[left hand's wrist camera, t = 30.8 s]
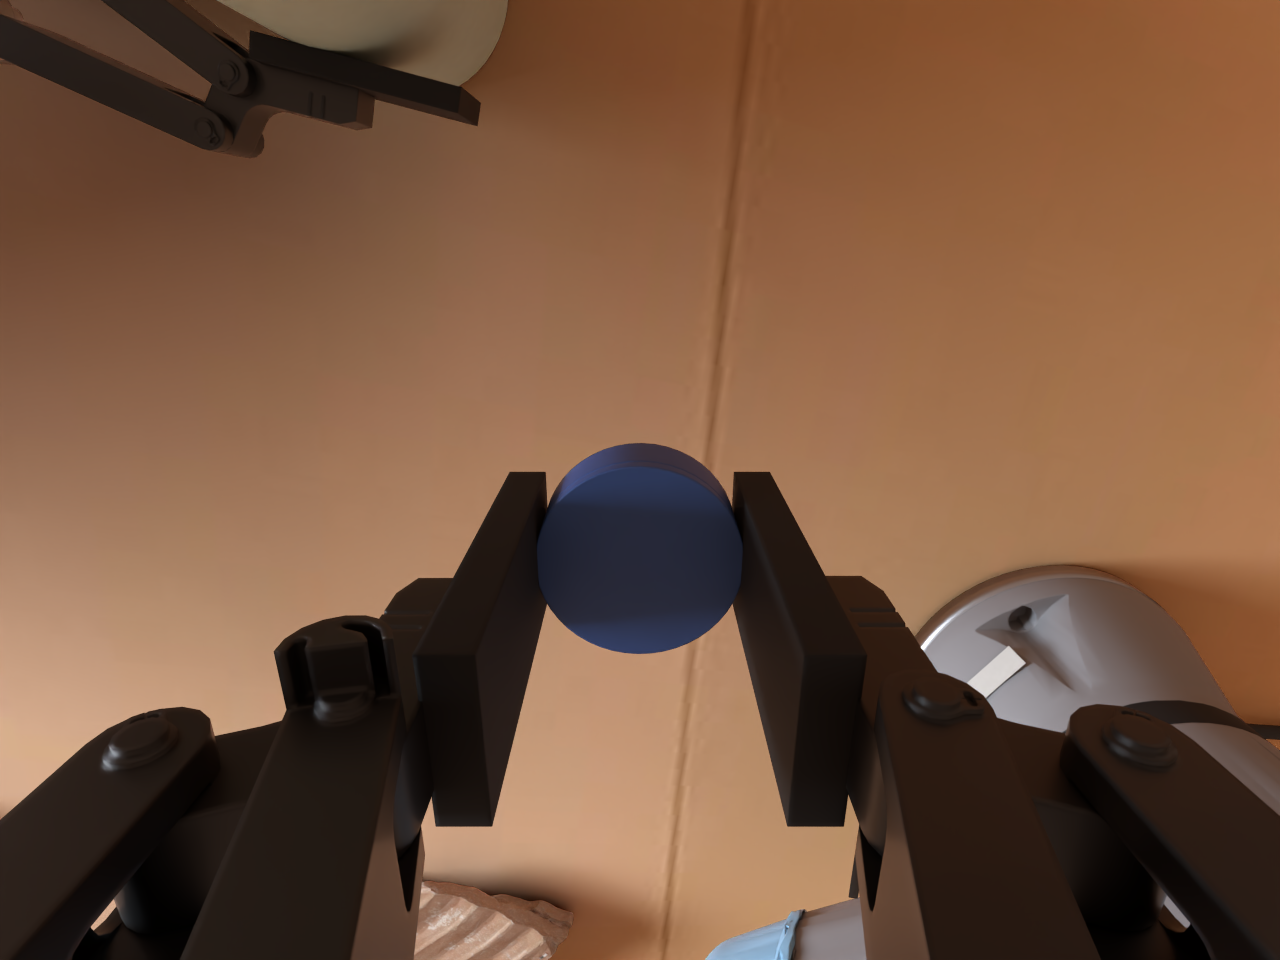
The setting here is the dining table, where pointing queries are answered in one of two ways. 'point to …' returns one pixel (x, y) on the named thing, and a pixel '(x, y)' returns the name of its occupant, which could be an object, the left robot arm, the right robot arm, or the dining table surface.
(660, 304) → the dining table surface
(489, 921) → the stone
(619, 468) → the cap
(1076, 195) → the dining table surface
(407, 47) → the bottle
